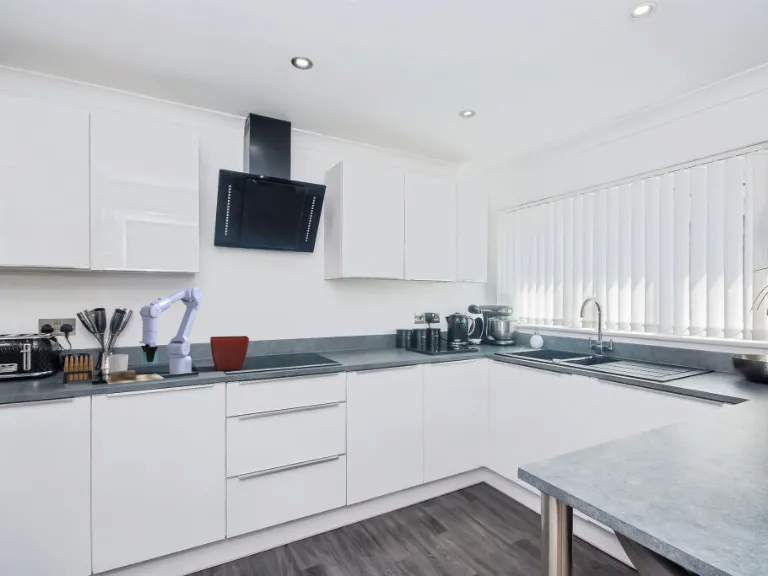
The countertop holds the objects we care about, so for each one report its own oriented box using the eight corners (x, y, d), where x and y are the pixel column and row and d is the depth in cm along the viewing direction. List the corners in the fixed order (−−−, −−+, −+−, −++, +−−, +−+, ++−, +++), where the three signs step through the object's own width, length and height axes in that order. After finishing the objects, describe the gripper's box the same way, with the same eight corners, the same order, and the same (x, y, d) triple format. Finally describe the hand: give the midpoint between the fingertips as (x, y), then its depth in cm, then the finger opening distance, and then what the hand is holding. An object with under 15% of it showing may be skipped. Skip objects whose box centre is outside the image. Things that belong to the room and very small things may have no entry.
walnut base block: (133, 376, 191) (133, 370, 191) (136, 378, 185) (136, 372, 185) (110, 378, 185) (110, 372, 185) (112, 381, 180) (112, 374, 180)
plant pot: (246, 365, 233) (246, 335, 233) (249, 370, 215) (249, 338, 216) (209, 367, 225) (210, 336, 226) (209, 372, 208) (210, 339, 208)
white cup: (124, 373, 204) (125, 353, 204) (130, 375, 199) (131, 354, 199) (106, 375, 198) (106, 355, 198) (112, 377, 193) (112, 356, 193)
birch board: (156, 375, 199) (156, 373, 199) (164, 380, 186) (164, 378, 186) (104, 380, 186) (104, 378, 186) (108, 386, 173) (108, 384, 173)
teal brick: (155, 362, 189) (155, 351, 190) (157, 363, 186) (157, 352, 186) (140, 363, 186) (140, 352, 186) (142, 364, 182) (142, 353, 182)
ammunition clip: (93, 380, 185) (93, 354, 186) (92, 381, 184) (93, 354, 184) (63, 383, 180) (64, 355, 181) (62, 383, 179) (63, 356, 179)
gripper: (137, 330, 189) (136, 360, 189) (142, 332, 178) (141, 364, 178) (154, 330, 194) (153, 359, 193) (160, 332, 183) (160, 362, 182)
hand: (149, 361), depth 186 cm, fingers closed on teal brick, 4 cm apart
